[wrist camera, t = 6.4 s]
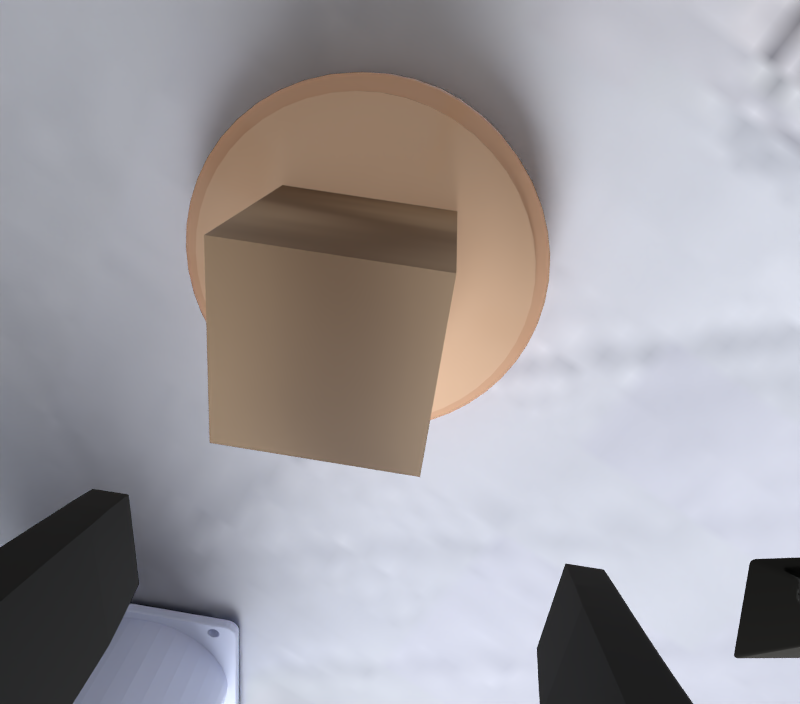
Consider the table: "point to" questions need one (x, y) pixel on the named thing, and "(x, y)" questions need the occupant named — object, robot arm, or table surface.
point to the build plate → (770, 610)
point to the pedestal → (398, 199)
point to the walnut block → (328, 326)
